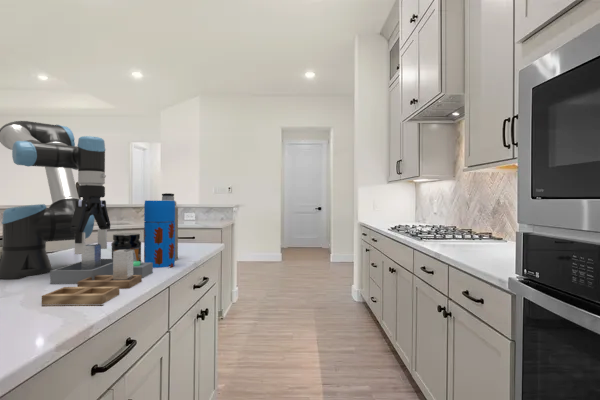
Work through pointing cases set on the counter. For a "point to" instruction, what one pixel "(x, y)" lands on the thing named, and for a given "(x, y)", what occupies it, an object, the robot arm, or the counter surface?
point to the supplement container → (127, 244)
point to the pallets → (89, 291)
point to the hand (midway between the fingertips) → (91, 251)
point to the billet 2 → (123, 264)
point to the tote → (79, 272)
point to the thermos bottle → (171, 198)
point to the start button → (136, 263)
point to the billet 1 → (91, 257)
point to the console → (143, 269)
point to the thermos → (159, 233)
